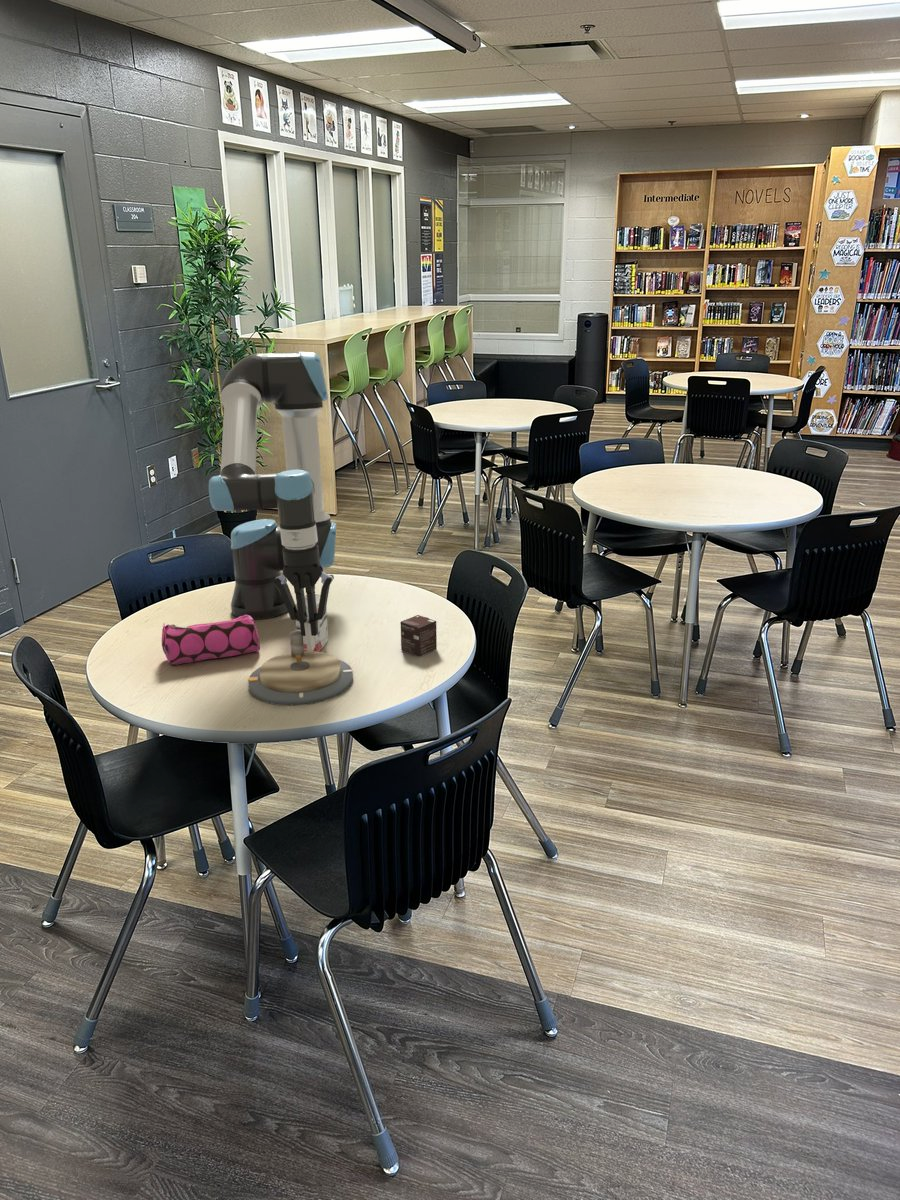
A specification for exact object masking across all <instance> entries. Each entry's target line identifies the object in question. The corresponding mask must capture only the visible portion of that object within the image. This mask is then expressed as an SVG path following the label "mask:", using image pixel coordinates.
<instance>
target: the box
mask: <svg viewBox="0 0 900 1200" xmlns="http://www.w3.org/2000/svg"><path fill="white" fill-rule="evenodd" d="M399 625H400V647H401V648H400V650H401V652H404V653H407V654H409V655H412V656H415V657H418V658H421V657H424V656H425V655H428V654H430V653H432V652H435V651H436V650H437V645H438V644H437V620H434V619H431V618H429V617H427V616H423V615H420V614H417V615H414V616H412V617H409V618H407V619H404V620H401V621H400V624H399ZM434 650H435V651H434ZM423 655H424V656H423Z"/></svg>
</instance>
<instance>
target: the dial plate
mask: <svg viewBox="0 0 900 1200" xmlns="http://www.w3.org/2000/svg"><path fill="white" fill-rule="evenodd" d="M337 659H338V660H339V661H340V667H341V675H340V677H339V678H338V680H336V681H335V682H334V683H332V684H330V685H329V686H326V687H324V688H321V689H317V690H313V691H308V692H299V693H286V692H278V691H274V690H271V689H268V688H266V687H265V686H263V685H262V683H261V681H260V672H259V670H260V667H261V666H259V667H257V668H255V670H254V671H253V672H251V674H250V675H249V677H248V682H247V683H248V690H249V691H248V692H249V693H250V694H251V696H252V697H254V699H257V700H259V701H261V702H264V703H268V704H272V705H279V706H304V705H310V704H316V703H320V702H324V701H327V700H329V699H333V698H336V697H338V696H340V695H341V694H342V693H345V692H346V691H347V690H348V689H349V688H350V687H351V686H352V684H353V682H354V673H353V672H354V671H353V668H352V667H351V665H349V664H348V663H347V662H345V661H343V660H341V659H339V658H337Z"/></svg>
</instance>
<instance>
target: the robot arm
mask: <svg viewBox="0 0 900 1200" xmlns="http://www.w3.org/2000/svg"><path fill="white" fill-rule="evenodd" d="M220 387H221V388H220V403H221V405H222V407H223V408H224V409H223V423H222V425H223V426H222V441H221V442H222V443H221V455H220V456H221V458H220V474H219V475H218V474H217V475H214V476H211V477H210V478H209V480H208V496H209V502H210V506H211V508H212V509H213V510H214V511H217V512H218V511H219V512H220V511H221V512H222V511H223V512H224V511H225V512H234V511H235V512H236V511H248V510H249V511H250V510H251V511H252V510H266V509H267V510H269V509H277V512H278V520H279V525H278V524H277V522H276V520H275V519H272V518H261V519H255V520H251V521H246V522H244V523H241V524H238V525H237V526H236V527H234V528H233V529H232V530H231V533H230V544H231V545H230V549H231V552H232V562H233V564H232V565H233V572H234V573H233V574H234V579H235V580H234V581H235V585H234V590H233V593H232V598H231V602H230V608H231V614H232V615H233V616H234V617H236V618H238V617H240V616H244V615H248V616H251V617H252V618H253V620H264V619H270V618H274V617H278V616H281V615H284V614H285V613H288V614H289V618H290V619H291V620H292V621H296V620H297V621H299V622H300V628H301V634H302V636H306V643H307V651H313V650H314V648H315V638H314V636H316V635H317V633H318V625H317V620H321V619H322V618H323V617H324V615H325V611H326V607H327V603H328V598H329V592H330V587H331V584H332V582H333V581H334V578H335V576H334V575H333V574H328V573H326V572H325V571H324V569H328V568H331V567H332V566H333V565H334V563H335V554H336V539H337V523H336V522H334V521H331V515H330V514H329V513H328V512H326V511H325V509H324V508H325V507H324V495H323V493H324V491H323V481H322V477H323V476H322V465H321V453H320V450H321V449H320V439H319V438H320V437H319V424H318V414H319V413H320V412H321V411H322V410H323V408H324V406H323V402H325V401H328V400H329V395H328V391H327V390H328V389H327V384H326V380H325V374H324V370H323V364H322V360H321V357H320V356H319V354H318V353H316V352H313V351H311V352H310V351H292V352H267V353H266V352H265V353H264V352H258V353H253V354H249V355H247V356H245V357H243V358H242V359H240V360H239V361H237V363H235V364H234V365H233V366H232V368H231V369H230V370H229V371H228V372H227V374H226V376H225V378H224V379H223V381H222V383H221V386H220ZM262 403H274V409H275V411H276V412H277V413H278V414H279V415H280V416H281V419H282V431H283V441H284V442H283V445H284V453H285V454H284V455H285V467H286V468H285V469H286V470H283V471H281V472H278V473H259V474H258V473H256V472H257V442H258V441H257V440H258V439H257V437H258V436H257V433H258V432H257V431H258V411H259V409H260V408H261V406H262ZM281 572H282V573H281ZM320 578H321V581H320V582H321V584H322V586H321V591H320V594H319V595H320V601H319V607H318V613H317V608H316V597H315V594H316V584H317V583H318V582H319V579H320ZM287 582H289V583H290V584H291V585H292V586H293V590H294V594H295V600H296V603H295V601H294V598H293V595H292V593H291V589H290V587H289V585H288V583H287ZM305 593H306V594H305ZM306 595H307V603H308V614H309V619H307V617H308V615H307V611H306V603H305V596H306ZM296 604H297V607H296ZM297 609H298V610H297Z"/></svg>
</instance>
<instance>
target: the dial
mask: <svg viewBox="0 0 900 1200" xmlns="http://www.w3.org/2000/svg"><path fill="white" fill-rule="evenodd" d="M289 643H290V652H288V653H287V652H286V653H283V654H279V655H277V656H276V655H275V656H274V657H271V658H270V659H268V660H266V661H265V662H263V663H262V664H261V666H259V667H260V670H259V672H260V681H261V683H262V685H263V686H265V687H266V688H268V689H271V690H274V691H278V692H286V693H299V692H308V691H313V690H317V689H321V688H324V687H326V686H329V685H330V684H332V683H334V682H335V681H336V680H338V678H339V677H340V675H341V667H340V661H339V660H340V659H339V658H338V657H336V656H335V655H333V654H330V653H326V652H322V651H319V652H316V651H304V644H303V636H302V634H301V631H296V630H294V631H293V630H292V631H290V632H289ZM338 659H339V660H338Z"/></svg>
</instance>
